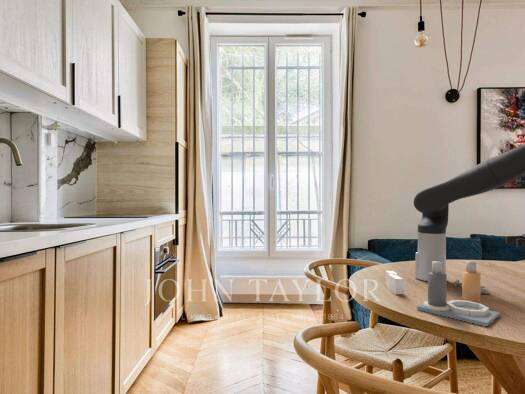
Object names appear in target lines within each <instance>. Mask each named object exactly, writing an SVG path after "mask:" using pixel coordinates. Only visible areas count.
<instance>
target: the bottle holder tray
mask: <svg viewBox="0 0 525 394" xmlns="http://www.w3.org/2000/svg"><path fill="white" fill-rule="evenodd" d="M447 277H448V276H447V273H442V262H439V261H432V272H428V281H427V300H425V301H423V302H422V303H420V304H419V305H417V306H416V307H417V308H416V310H417V311H421V312H424V311H425V313H428V312H429V313H428V314H432V313H433V315H436V314H437V315H436V316H440V315H441V316H440V317H444V316H445V318H448V317H450V318H449V319H452V318H454V319H453V320H456V319H458V320H457V321H460V320H462V321H461V322H464V321H467V322H466V323H468V322H471V323H470V324H472V323H476V324H479V325H478V326H480V325H484V326H488V325H489V324H490V323H491V322H492V321H493V322H495V321H496V320H497V319H498V318H499V317H500V316H501V312H500V311H496V310H492V309H490V307H488V306H486V305H484V304H482V303H481V304H480V303H475V302H470V301H465V300H462V299H461V300H460V299H457V300H456V299H454V300H453V299H451V300H447V299H448V298H447V289H448V288H447V283H448V282H447V279H448V278H447ZM498 316H499V317H498ZM497 317H498V318H497ZM496 318H497V319H496ZM495 319H496V320H495ZM494 320H495V321H494ZM493 322H492V323H493ZM492 323H491V324H492ZM476 324H475V325H476ZM491 324H490V325H491ZM490 325H489V326H490ZM484 326H483V327H484ZM489 326H488V327H489Z"/></svg>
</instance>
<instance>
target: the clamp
mask: <svg viewBox="0 0 525 394" xmlns="http://www.w3.org/2000/svg"><path fill="white" fill-rule="evenodd" d="M453 286H454V287H459V286H462V282H460V279H456V281H453ZM489 292H490V290H487V289H486V287H485V286H483V285H481V294H483V295H489Z"/></svg>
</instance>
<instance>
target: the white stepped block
mask: <svg viewBox="0 0 525 394" xmlns="http://www.w3.org/2000/svg"><path fill="white" fill-rule="evenodd" d="M385 286H386V287H387V288H388V289H387V290H389V291H390V292H391V291H392V292H391V293H393V294H394V293H395V294H394V295H396V294H402V295H404V278H403V277H400V276H399V274H398V273H397V272H395V271H394V270H386V271H385Z"/></svg>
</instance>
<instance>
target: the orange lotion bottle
mask: <svg viewBox="0 0 525 394" xmlns="http://www.w3.org/2000/svg"><path fill="white" fill-rule="evenodd" d="M465 263H466V264H465V265H466V266H465V267H466V269H465V270H462V271H461V274H462V276H461V283H462V285H461V291H462V293H461V295H462V296H461V297H462V298H461V300H465V301H470V302H475V303H480V304H482V303H481V297H482V295H481V294H482V293H481V289H482V288H481V286H482V285H481V284H482V283H481V279H482V277H481V276H482V275H481V274H482V273H481V272H479V271H477V261H475V260H466V261H465Z"/></svg>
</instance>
